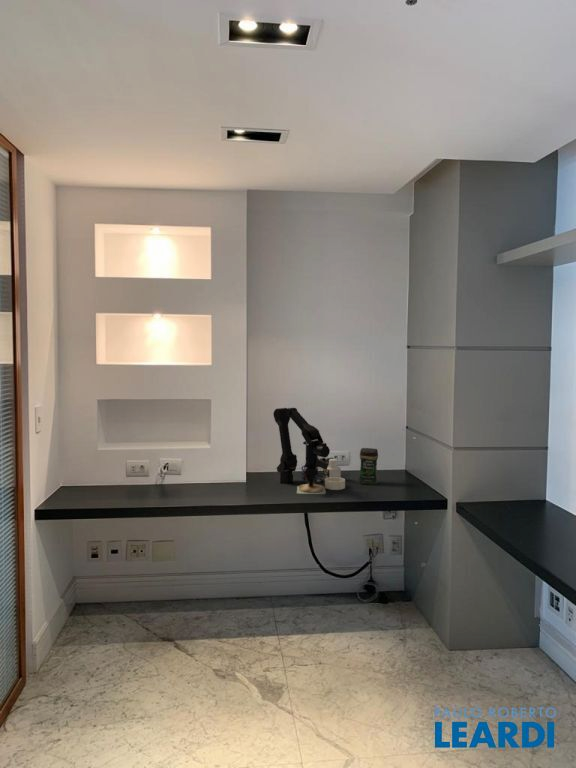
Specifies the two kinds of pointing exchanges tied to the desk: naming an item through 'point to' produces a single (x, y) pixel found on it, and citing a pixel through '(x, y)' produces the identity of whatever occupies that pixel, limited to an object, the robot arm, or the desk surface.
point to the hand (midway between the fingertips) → (311, 485)
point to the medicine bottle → (332, 469)
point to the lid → (311, 487)
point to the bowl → (335, 483)
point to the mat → (311, 492)
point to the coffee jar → (368, 466)
